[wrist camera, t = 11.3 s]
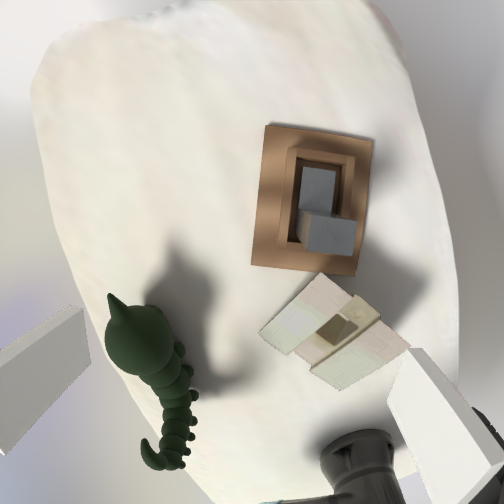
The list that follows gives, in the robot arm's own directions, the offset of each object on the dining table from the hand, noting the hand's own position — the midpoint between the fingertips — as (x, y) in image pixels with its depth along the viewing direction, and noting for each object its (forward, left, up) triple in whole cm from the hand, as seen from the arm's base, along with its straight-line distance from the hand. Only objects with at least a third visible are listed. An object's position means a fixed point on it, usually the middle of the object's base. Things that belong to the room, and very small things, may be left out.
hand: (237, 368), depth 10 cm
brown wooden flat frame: (+6, -6, -29) cm, 30 cm away
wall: (-12, -11, -29) cm, 33 cm away
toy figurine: (-19, +13, -29) cm, 37 cm away
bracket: (+6, -6, -28) cm, 29 cm away
